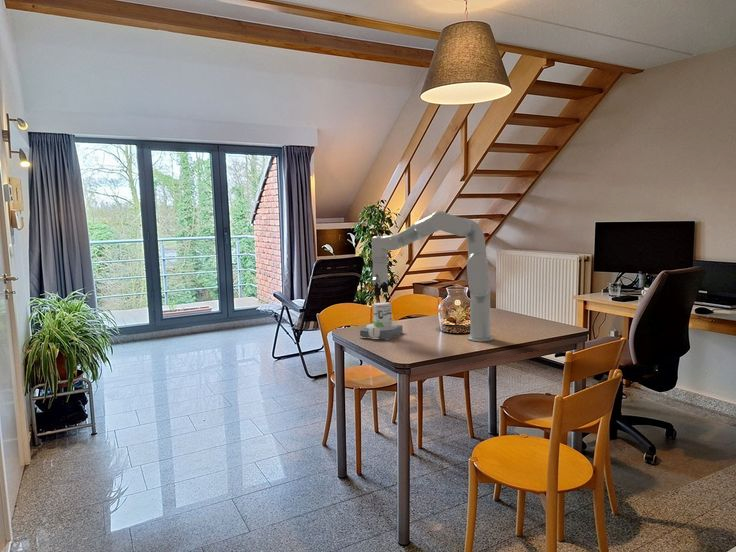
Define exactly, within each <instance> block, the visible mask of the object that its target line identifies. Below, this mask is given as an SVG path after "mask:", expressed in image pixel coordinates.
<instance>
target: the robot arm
mask: <svg viewBox="0 0 736 552" xmlns="http://www.w3.org/2000/svg"><path fill="white" fill-rule="evenodd" d="M438 231H442V232H445V233H449V234H452V235H454V236H458V237H465V239H466V245H467V256H468V257H467V260H466V273H467V274H466V275H467V283H468V291H469V295H470V297H469V300H470V301H469V303H470V304H469V315H470V317H469V319H470V320H469V324H470V325H469V327H470V328H469V330H470V331H469V334H468V335H467V336H466V338H467V340H469V341H471V342H483V343H484V342H491V341H493V340H494V335H492V334H491V290H492V289H491V287H492V286H491V280H490V279H489V267H488V265H489V262H488V258H487V246H486V240H485V239H486V238H485V234H484V231H483V229H482V228H481V225H479V224H478V223H477V222H476V221H475V220H472V219H470V218H468V217H467V218H466V217H460V216H458V215H453V214H450V213H447V212H446V211H443V210H437V211H434V212H433V213H432V214H431V215H430V214H429V216H426V217H424V218H422V219H420V220H418V221H416V222H414V223H413V224H412V225H410V226H409V227H408V228H406V229H404V230H402V231H399V232H398V233H395V234H391V235H387V236H386V235H385V236H384V235H374V236H372V237H371V254H372V256H371V257H372V273H371V275H372V278H371V279H372V283H373V288H374V289H373V290H374V296H381V295H382V293H389V274H388V273H389V272H388V265H387V264H388V263H389V262H388V251H396V250H400V249H401V248H404V247H405V246H408V245H409V244H412V243H413V242H416V241H419V240H422V239H424V238H426V237H428V236H430V235H432V234H434V233H436V232H438ZM381 284H382V285H381Z"/></svg>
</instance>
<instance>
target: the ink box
mask: <svg viewBox="0 0 736 552" xmlns="http://www.w3.org/2000/svg"><path fill="white" fill-rule="evenodd" d="M372 307H373V310H372V311H373V312H372V315H373V323H374V326H375V327H386V326H392V322H393V318H392V313H393V312H392V310H393V309H392V303H390V302H388V301H386V302H375V303H372Z"/></svg>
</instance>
